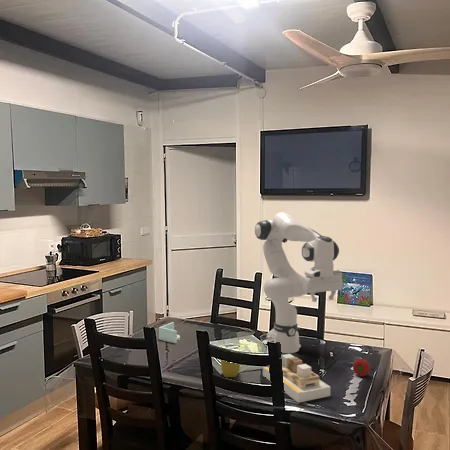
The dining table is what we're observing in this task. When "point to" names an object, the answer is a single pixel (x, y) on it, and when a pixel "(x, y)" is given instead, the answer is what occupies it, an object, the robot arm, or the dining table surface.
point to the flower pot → (229, 369)
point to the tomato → (361, 367)
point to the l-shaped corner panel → (168, 333)
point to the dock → (302, 394)
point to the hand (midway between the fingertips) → (322, 300)
